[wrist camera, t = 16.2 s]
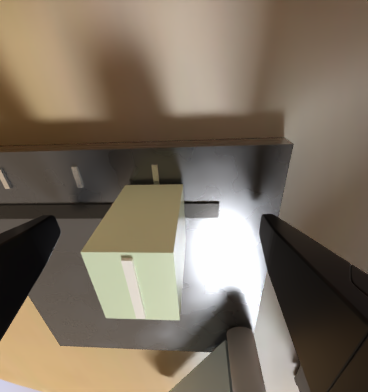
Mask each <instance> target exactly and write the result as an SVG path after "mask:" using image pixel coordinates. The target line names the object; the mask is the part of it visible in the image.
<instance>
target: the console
mask: <svg viewBox="0 0 368 392" xmlns="http://www.w3.org/2000/svg"><path fill="white" fill-rule="evenodd" d="M292 149H293V143H291V142H290V141H288V140H287V139H286V138H253V139H220V140H188V141H155V142H123V143H90V144H58V145H25V146H0V233H3V232H5V231H7V230H10V229H12V228H14V227H17V226H19V225H21V224H24V223H26V222H28V221H31V220H33V219H35V218H38V217H40V216H43V215H53V216H55V217H56V220H57V222H58V224H59V227H60V229H61V234H60V237H59V239H58V241H57V243H56V245H55V247H54V250H53V252H52V254H51V256H50V258H49V260H48V262H47V264H46V266H45V268H44V269H43V271H42V273H41V274H40V276H39V278H38V279H37V281H36V283H35V284H34V286H33V288H32V289H31V291H30V293H29V294H28V296H29V298H30V299H31V301H32V302H33V304H34V305H35V307H36V309H37V310H38V312H39V313H40V315H41V316H42V318H43V320H44V321H45V323H46V324H47V326H48V327H49V329H50V331H51V332H52V334H53V335H54V337H55V338H56V340H57V342H58V343H59V345H60V346H77V347H101V348H124V349H148V350H171V351H195V352H213V351H214V350H215V349H216V348H217V347H218V346H219V345H220V344H221V343H222V342H224V341H225V340H226V341H227V331H228V330H230V329H231V328H234V327H246V328H249V329H251V330H252V331H253V334H254V330H255V325H256V321H257V316H258V311H259V306H260V302H261V297H262V292H263V287H264V282H265V278H266V273H267V267H266V263H265V258H264V254H263V249H262V245H261V240H260V236H259V228H260V222H261V216H262V215H263V214H274V215H275V216H277V217H278V216H279V211H280V206H281V201H282V197H283V192H284V187H285V182H286V177H287V173H288V168H289V163H290V158H291V154H292ZM165 184H183V193H184V211H185V230H186V245H185V259H184V272H183V285H182V299H181V312H180V320H148V319H117V318H106V317H105V315H104V312H103V309H102V307H101V304H100V302H99V299H98V296H97V294H96V291H95V289H94V286H93V284H92V281H91V278H90V276H89V273H88V271H87V268H86V265H85V263H84V260H83V258H82V255H81V250H82V249H83V247H84V246H85V244H86V243H87V241H88V240H89V238H90V237H91V236H92V234H93V233H94V231H95V230H96V228H97V227H98V225H99V224H100V222H101V221H102V219H103V218H104V216H105V215H106V213H107V212H108V210H109V209H110V207H111V206H112V204H113V203H114V201H115V200H116V198H117V197H118V195H119V194H120V192H121V191H122V189H123V188H124V186H125V185H165Z"/></svg>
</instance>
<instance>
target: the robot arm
mask: <svg viewBox="0 0 368 392" xmlns="http://www.w3.org/2000/svg"><path fill="white" fill-rule="evenodd" d="M60 234H61V229H60V227H59V224H58V222H57V220H56V217H55V216H53V215H43V216H40V217H38V218H35V219H33V220H31V221H28V222H26V223H24V224H21V225H19V226H17V227H14V228H12V229H10V230H7V231H5V232H3V233H0V341H1V339H2V337H3V336H4V334H5V332H6V331H7V329H8V327H9V326H10V324H11V323H12V321H13V319H14V318H15V316H16V314H17V313H18V311H19V309H20V308H21V306H22V304H23V303H24V301H25V299H26V298H27V296H28V294H29V293H30V291H31V289H32V288H33V286H34V284H35V283H36V281H37V279H38V278H39V276H40V274H41V273H42V271H43V269H44V268H45V266H46V264H47V262H48V260H49V258H50V256H51V254H52V252H53V250H54V247H55V245H56V243H57V241H58V239H59V237H60ZM259 236H260V240H261V245H262V249H263V254H264V258H265V263H266V267H267V270H268V273H269V276H270V279H271V282H272V285H273V287H274V290H275V293H276V296H277V299H278V302H279V304H280V307H281V310H282V313H283V316H284V319H285V321H286V324H287V327H288V330H289V333H290V335H291V338H292V341H293V344H294V347H295V350H296V352H297V355H298V358H299V361H300V364H301V365H300V367H299V370H298V372H297V374H296V376H295V378H294V379H295V382H296V385H297V386H298V388H299V391H300V392H368V274H366V273H365V272H363V271H361V270H360V269H358V268H357V267H355V266H354V265H351V264H350V263H349V262H347V261H346V260H344V259H343V258H341V257H339V256H338V255H336V254H335V253H333V252H332V251H330V250H328V249H327V248H325V247H324V246H322V245H321V244H319V243H318V242H316V241H314V240H313V239H311V238H310V237H308V236H307V235H305V234H303V233H302V232H300V231H299V230H297V229H296V228H294V227H292V226H291V225H289V224H288V223H286V222H285V221H283V220H282V219H280V218H278V217H277V216H275V215H274V214H263V215H262V216H261V222H260V228H259Z"/></svg>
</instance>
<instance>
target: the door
mask: <svg viewBox="0 0 368 392" xmlns="http://www.w3.org/2000/svg"><path fill="white" fill-rule="evenodd" d="M169 392H266V390H265V385H264V380H263V376H262V371H261V366H260V362H259V357H258V353H257V348H256V343H255V339H254V334H253V331H252V330H251V329H249V328H246V327H234V328H231V329H230V330H228V331H227V341H226V340H225V341H224V342H222V343H221V344H220V345H219V346H218V347H217V348H216V349H215V350H214V351H213V352H212V353H210V354H209V355H208V356H207V357H206V358H205V359H204V360H203V361H202V362H201V363H200V364H199V365H197V366H196V367H195V368H194V369H193V370H192V371H191V372H190V373H189V374H188V375H187V376H185V377H184V378H183V379H182V380H181V381H180V382H179V383H178V384H177V385H176V386H175V387H174V388H172V389H171V390H170V391H169Z"/></svg>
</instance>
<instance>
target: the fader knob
mask: <svg viewBox="0 0 368 392" xmlns="http://www.w3.org/2000/svg"><path fill="white" fill-rule="evenodd" d="M185 245H186V230H185V211H184V193H183V184H165V185H125V186H124V188H123V189H122V191H121V192H120V194H119V195H118V197H117V198H116V200H115V201H114V203H113V204H112V206H111V207H110V209H109V210H108V212H107V213H106V215H105V216H104V218H103V219H102V221H101V222H100V224H99V225H98V227H97V228H96V230H95V231H94V233H93V234H92V236H91V237H90V238H89V240H88V241H87V243H86V244H85V246H84V247H83V249H82V250H81V255H82V258H83V260H84V263H85V265H86V268H87V271H88V273H89V276H90V278H91V281H92V284H93V286H94V289H95V291H96V294H97V296H98V299H99V302H100V304H101V307H102V309H103V312H104V315H105V317H106V318H117V319H148V320H180V312H181V299H182V285H183V272H184V259H185Z"/></svg>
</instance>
